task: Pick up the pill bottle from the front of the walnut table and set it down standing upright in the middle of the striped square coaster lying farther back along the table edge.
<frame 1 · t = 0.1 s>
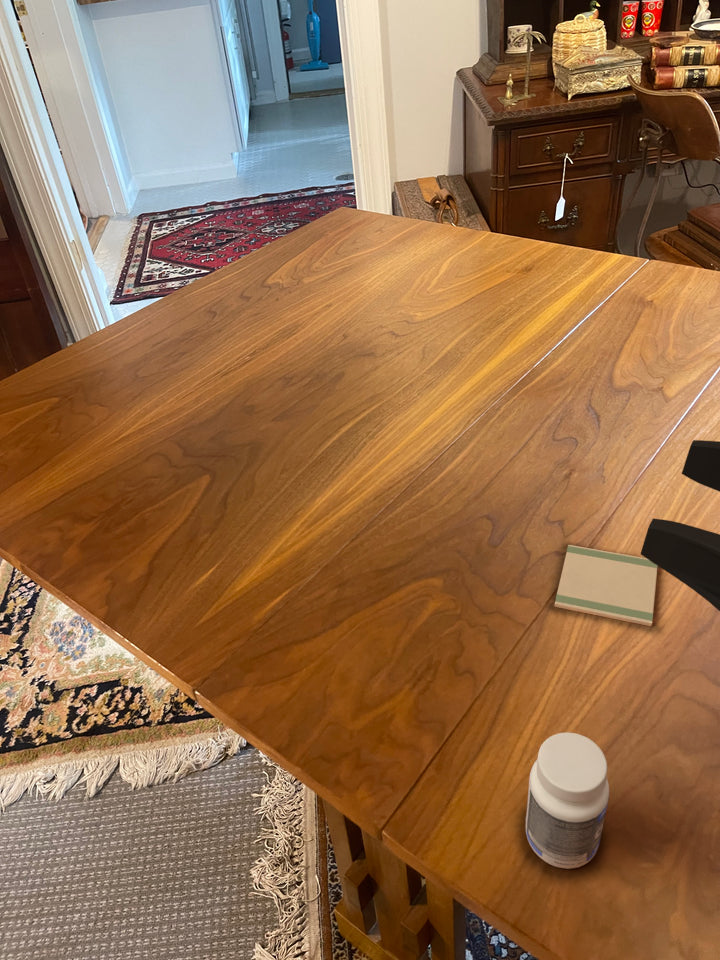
hand: (667, 494, 39), 23 cm above the table, tool horizontal, fingers open, 7 cm apart
striped square coaster: (607, 584, 66), on the table
pill bottle: (561, 835, 48), on the table
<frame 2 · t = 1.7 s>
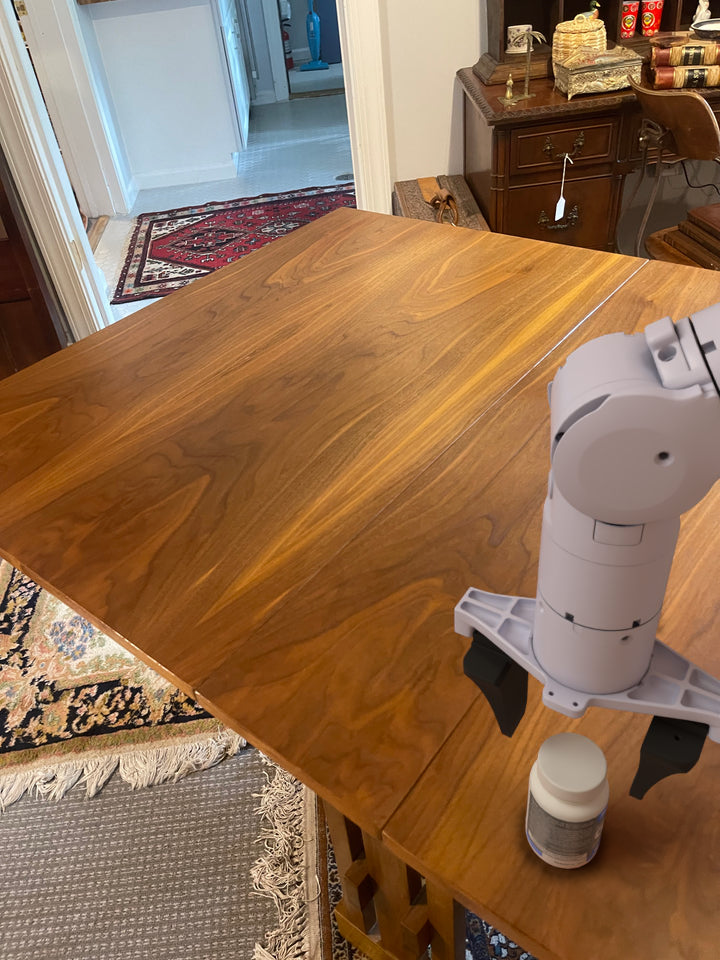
hand: (573, 752, 43), 9 cm above the table, tool pointing down, fingers open, 7 cm apart
nothing on the table moved.
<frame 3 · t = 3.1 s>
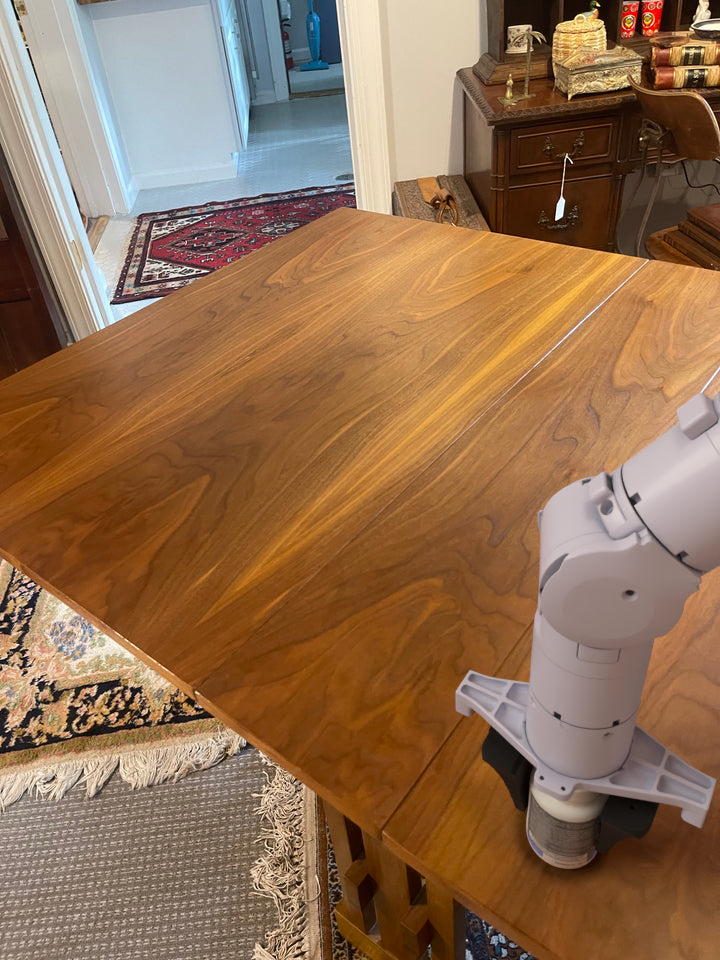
hand: (564, 817, 47), 2 cm above the table, tool pointing down, fingers closed on pill bottle, 5 cm apart
pill bottle: (562, 835, 48), on the table, touching gripper
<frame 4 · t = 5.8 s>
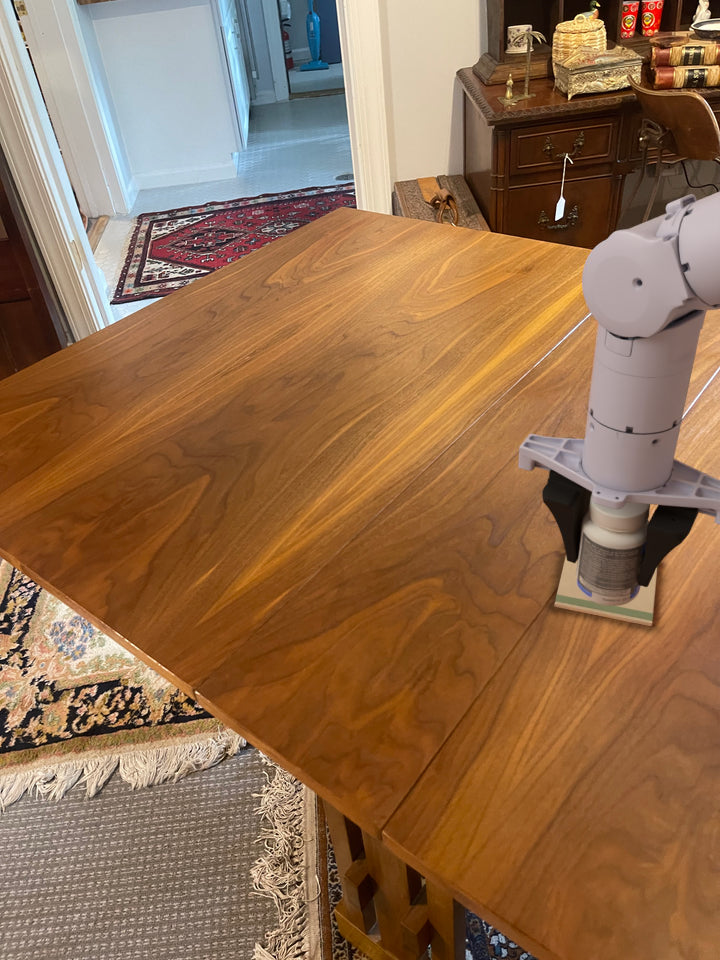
hand: (609, 565, 55), 9 cm above the table, tool pointing down, fingers closed on pill bottle, 5 cm apart
pill bottle: (606, 587, 56), point 7 cm above the table, touching gripper
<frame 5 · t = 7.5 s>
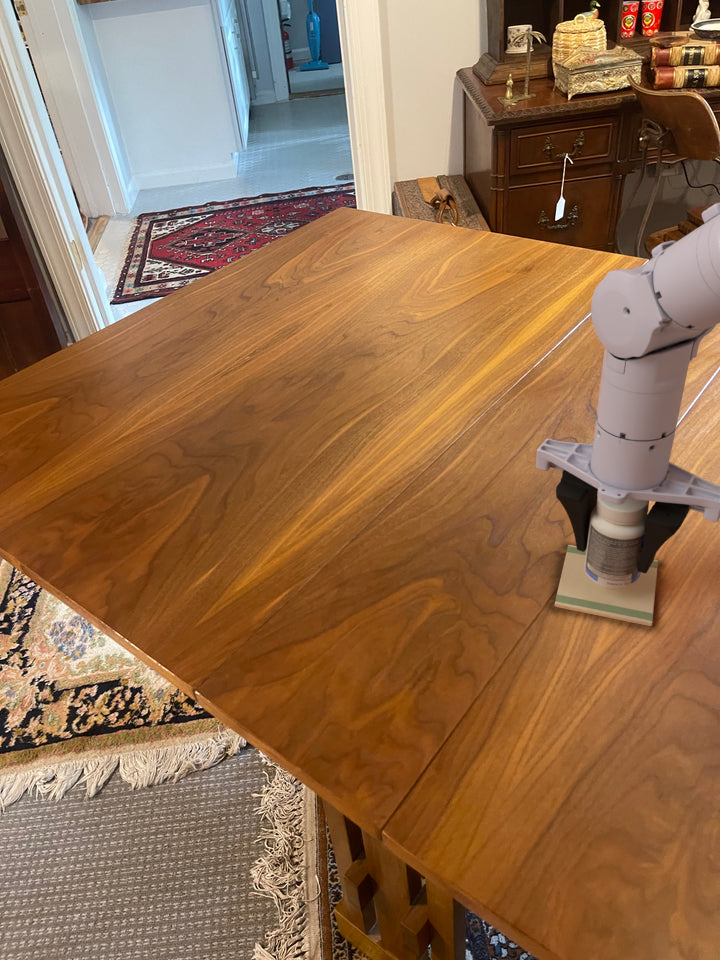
hand: (614, 554, 63), 4 cm above the table, tool pointing down, fingers closed on pill bottle, 5 cm apart
pill bottle: (611, 573, 64), point 2 cm above the table, touching gripper
when the fingers open (2 cm above the table, at t = 8.5 s): pill bottle stays where it is, resting on striped square coaster.
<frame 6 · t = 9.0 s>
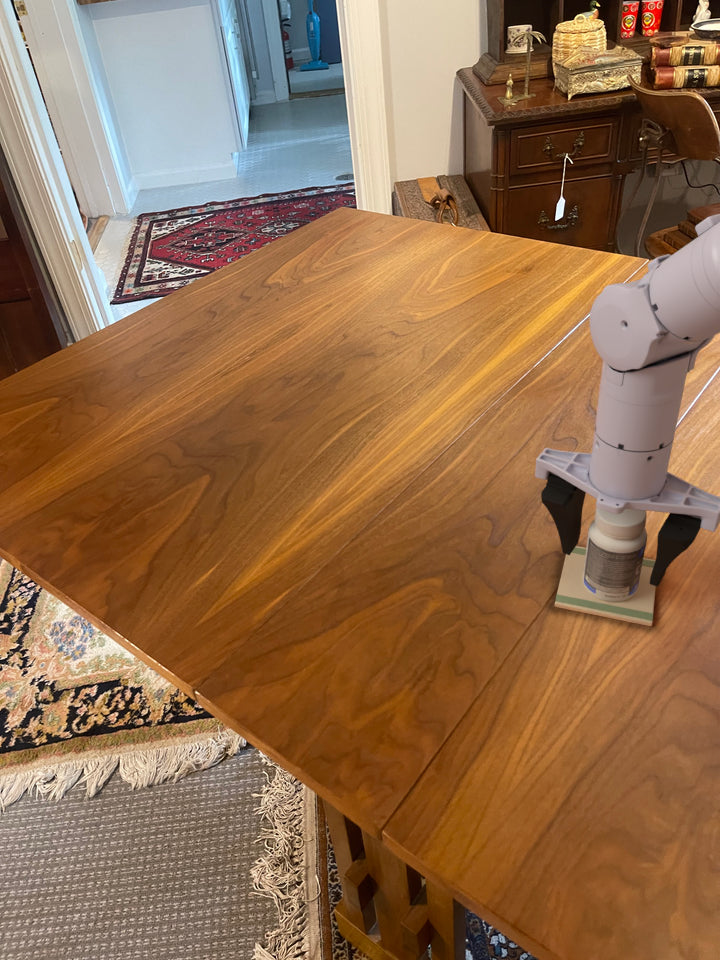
hand: (612, 562, 64), 3 cm above the table, tool pointing down, fingers open, 7 cm apart
pill bottle: (609, 585, 65), resting on striped square coaster
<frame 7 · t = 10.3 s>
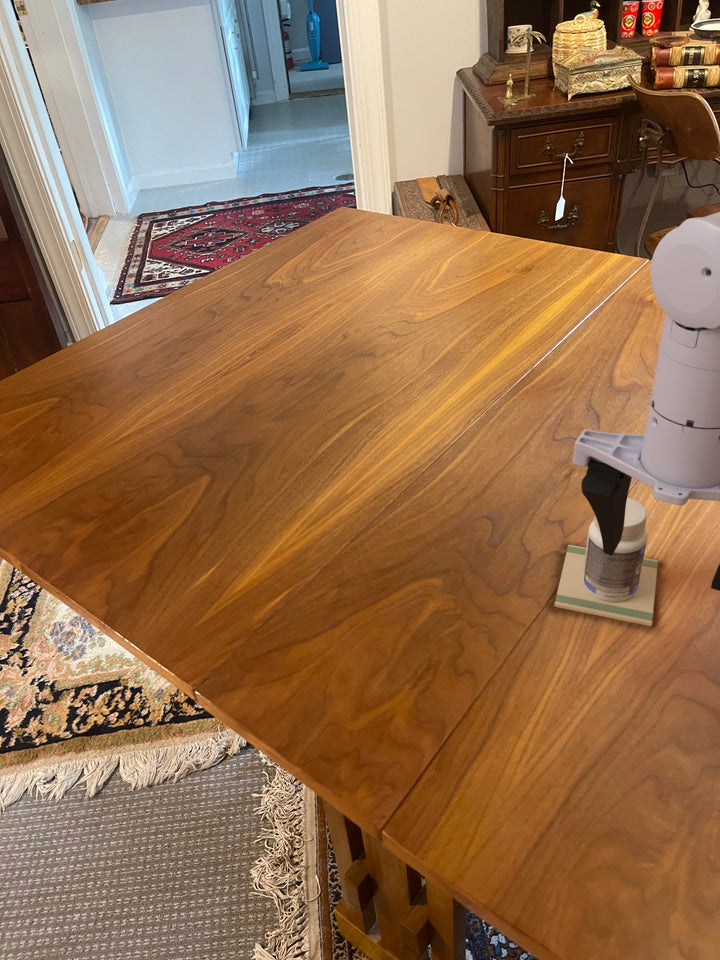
hand: (663, 563, 54), 9 cm above the table, tool pointing down, fingers open, 7 cm apart
nothing on the table moved.
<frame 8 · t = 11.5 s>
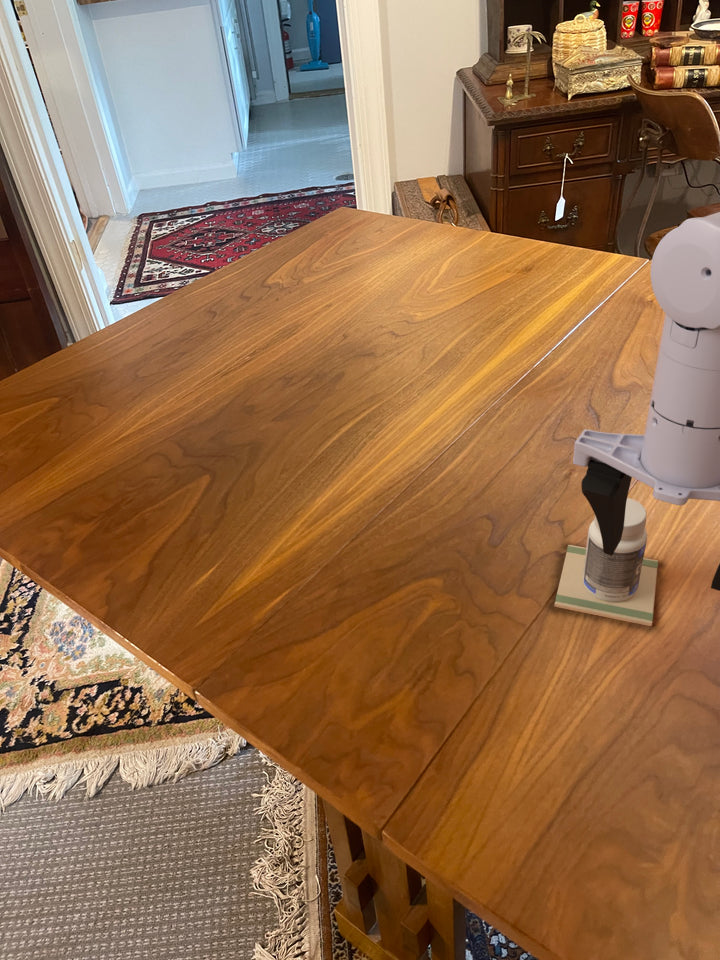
hand: (663, 563, 54), 9 cm above the table, tool pointing down, fingers open, 7 cm apart
nothing on the table moved.
at the end: pill bottle 0.3 cm off-centre on the striped square coaster, point 0.2 cm above the striped square coaster's base; pill bottle tilted 0°; the gripper is holding nothing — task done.
